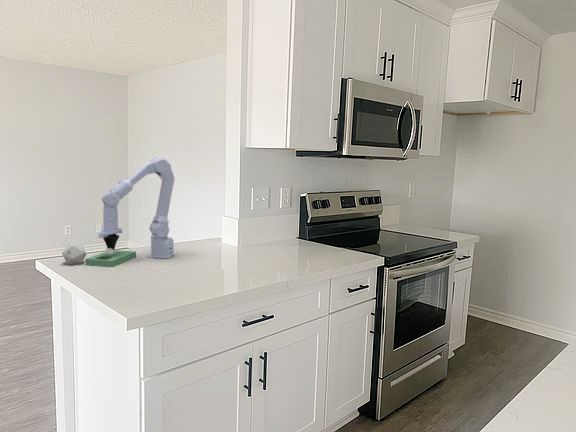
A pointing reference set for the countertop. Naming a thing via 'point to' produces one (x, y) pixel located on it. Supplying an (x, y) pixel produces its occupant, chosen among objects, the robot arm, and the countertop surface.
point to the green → (110, 258)
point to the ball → (109, 251)
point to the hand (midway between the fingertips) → (110, 252)
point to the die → (74, 253)
